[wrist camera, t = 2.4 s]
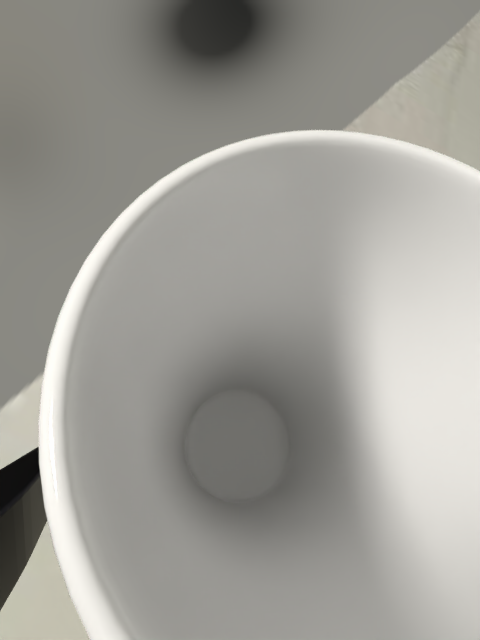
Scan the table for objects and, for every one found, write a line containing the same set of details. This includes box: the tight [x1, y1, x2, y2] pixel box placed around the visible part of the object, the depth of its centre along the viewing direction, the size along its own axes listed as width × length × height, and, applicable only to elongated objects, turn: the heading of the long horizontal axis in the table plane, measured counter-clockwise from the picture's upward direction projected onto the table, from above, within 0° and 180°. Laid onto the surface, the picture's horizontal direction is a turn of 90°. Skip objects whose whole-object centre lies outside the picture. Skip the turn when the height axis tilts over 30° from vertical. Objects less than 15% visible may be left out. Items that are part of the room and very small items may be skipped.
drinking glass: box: [38, 130, 480, 640], centre depth 10 cm, size 7×7×15 cm
